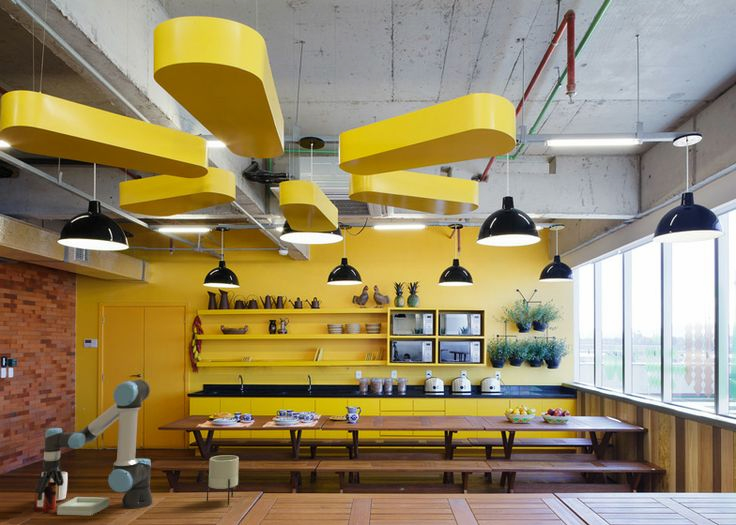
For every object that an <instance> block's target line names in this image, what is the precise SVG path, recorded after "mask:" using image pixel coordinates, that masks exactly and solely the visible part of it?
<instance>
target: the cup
mask: <svg viewBox="0 0 736 525" xmlns="http://www.w3.org/2000/svg"><path fill="white" fill-rule="evenodd" d="M61 472H62V476H63V481H64V482H63V485H61V486H60V498H59V499H56V501H57V502H58V501H63V500H64V499H66V496H67V492H68V477H69V476H68V471H67V472H66V471H61ZM60 481H61V480H60ZM49 482H54V480H53V478H51V479H50V480H49Z"/></svg>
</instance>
